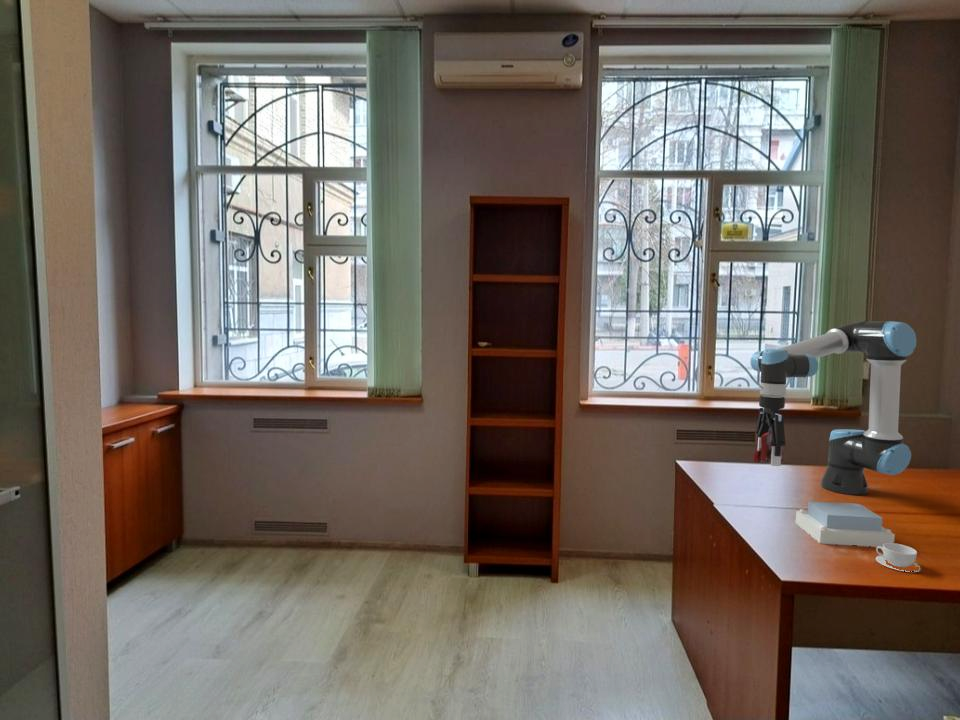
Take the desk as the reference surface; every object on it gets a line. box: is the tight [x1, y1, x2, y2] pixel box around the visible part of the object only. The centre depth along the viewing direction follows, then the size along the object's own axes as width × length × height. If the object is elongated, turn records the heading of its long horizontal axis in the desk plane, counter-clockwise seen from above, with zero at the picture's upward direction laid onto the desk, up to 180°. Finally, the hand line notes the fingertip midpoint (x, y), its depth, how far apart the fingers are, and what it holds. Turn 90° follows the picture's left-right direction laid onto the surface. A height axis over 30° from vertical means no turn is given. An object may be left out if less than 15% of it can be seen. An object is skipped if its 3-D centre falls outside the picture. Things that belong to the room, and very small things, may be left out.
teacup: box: [875, 542, 921, 573], centre depth 150 cm, size 10×10×5 cm
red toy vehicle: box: [752, 430, 784, 464], centre depth 187 cm, size 7×12×10 cm, turn 137°
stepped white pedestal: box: [795, 500, 896, 548], centre depth 170 cm, size 20×16×8 cm
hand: (768, 460), depth 187 cm, fingers closed on red toy vehicle, 11 cm apart
